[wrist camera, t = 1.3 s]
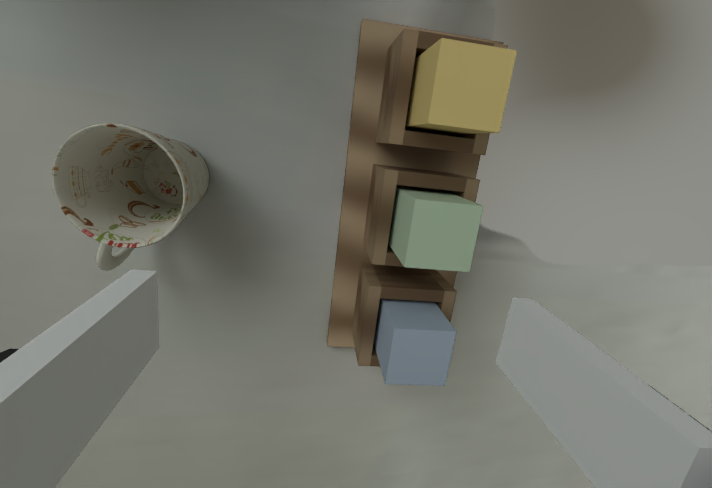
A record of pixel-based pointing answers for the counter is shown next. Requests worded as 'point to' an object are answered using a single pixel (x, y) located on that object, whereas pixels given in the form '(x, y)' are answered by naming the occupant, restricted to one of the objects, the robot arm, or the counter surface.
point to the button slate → (413, 342)
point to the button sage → (434, 229)
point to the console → (391, 185)
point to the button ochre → (460, 87)
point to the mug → (126, 186)
